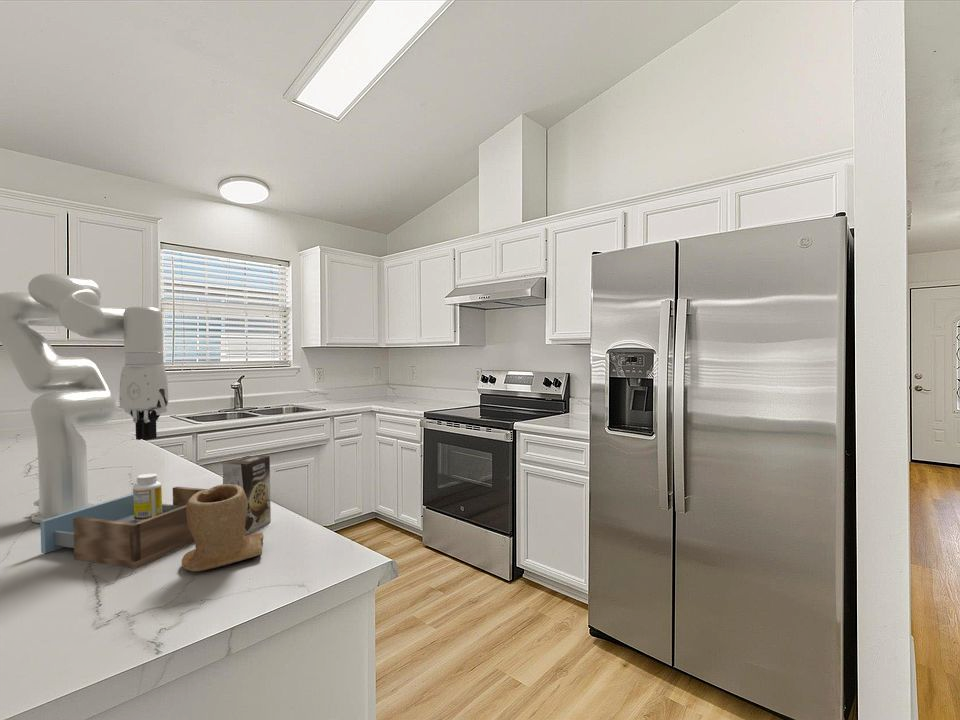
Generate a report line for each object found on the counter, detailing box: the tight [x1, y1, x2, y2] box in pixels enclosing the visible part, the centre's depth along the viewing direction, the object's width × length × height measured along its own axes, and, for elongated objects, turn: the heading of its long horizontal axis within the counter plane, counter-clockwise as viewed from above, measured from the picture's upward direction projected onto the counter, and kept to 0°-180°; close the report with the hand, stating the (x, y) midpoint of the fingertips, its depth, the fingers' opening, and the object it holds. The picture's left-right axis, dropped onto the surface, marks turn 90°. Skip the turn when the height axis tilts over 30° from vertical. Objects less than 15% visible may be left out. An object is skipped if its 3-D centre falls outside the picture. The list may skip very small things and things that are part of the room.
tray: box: [39, 493, 182, 554], centre depth 112 cm, size 16×24×7 cm, turn 163°
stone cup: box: [181, 484, 264, 572], centre depth 98 cm, size 15×12×15 cm
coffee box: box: [222, 455, 272, 536], centre depth 117 cm, size 9×6×16 cm
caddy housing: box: [73, 486, 209, 569], centre depth 110 cm, size 16×24×8 cm, turn 163°
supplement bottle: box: [132, 473, 163, 522], centre depth 118 cm, size 6×6×10 cm
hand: (146, 438), depth 117 cm, fingers closed
